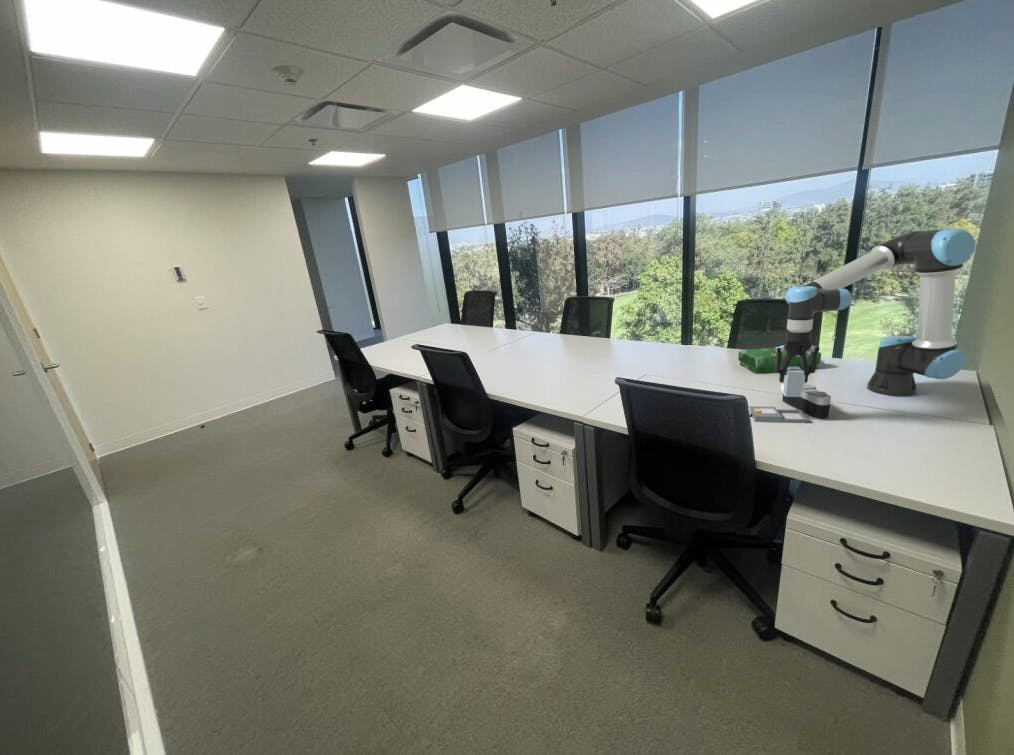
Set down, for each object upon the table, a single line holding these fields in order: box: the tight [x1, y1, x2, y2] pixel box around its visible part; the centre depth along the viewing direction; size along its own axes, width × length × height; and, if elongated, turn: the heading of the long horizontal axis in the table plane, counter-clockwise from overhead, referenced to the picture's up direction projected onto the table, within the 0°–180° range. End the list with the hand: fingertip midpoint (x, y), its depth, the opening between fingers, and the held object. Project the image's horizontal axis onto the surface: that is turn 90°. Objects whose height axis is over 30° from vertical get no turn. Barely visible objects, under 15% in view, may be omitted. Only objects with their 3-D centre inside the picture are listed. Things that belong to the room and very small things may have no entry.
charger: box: [781, 367, 804, 397], centre depth 153 cm, size 5×5×10 cm
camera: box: [781, 382, 832, 422], centre depth 161 cm, size 22×10×10 cm, turn 1°
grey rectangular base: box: [748, 405, 811, 424], centre depth 158 cm, size 21×10×3 cm, turn 72°
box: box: [737, 346, 822, 375], centre depth 208 cm, size 32×18×10 cm, turn 87°
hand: (792, 390), depth 154 cm, fingers closed on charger, 5 cm apart
